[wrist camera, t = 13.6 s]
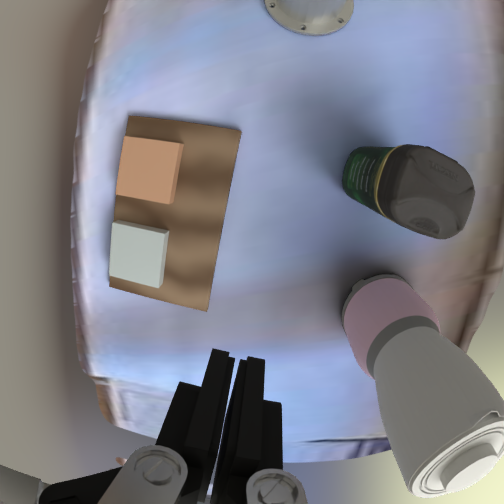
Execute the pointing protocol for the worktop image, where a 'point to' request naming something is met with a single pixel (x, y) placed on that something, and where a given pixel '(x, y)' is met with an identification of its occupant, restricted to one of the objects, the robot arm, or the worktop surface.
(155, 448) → the robot arm
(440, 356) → the blender
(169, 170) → the terracotta tile
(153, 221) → the walnut board
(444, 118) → the worktop surface
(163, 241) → the grey-blue tile
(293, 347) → the worktop surface
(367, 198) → the coffee jar
